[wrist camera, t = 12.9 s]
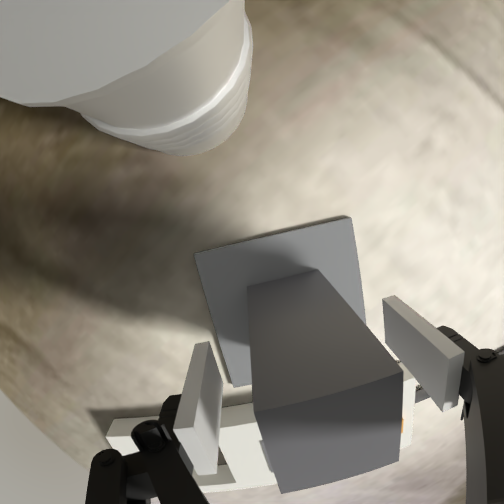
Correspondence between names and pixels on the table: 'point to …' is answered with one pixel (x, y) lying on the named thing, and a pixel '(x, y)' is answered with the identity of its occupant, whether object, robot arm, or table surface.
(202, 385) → the robot arm
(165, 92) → the grey ribbed canister
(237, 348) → the mat
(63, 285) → the table surface
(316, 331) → the block
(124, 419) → the power strip
